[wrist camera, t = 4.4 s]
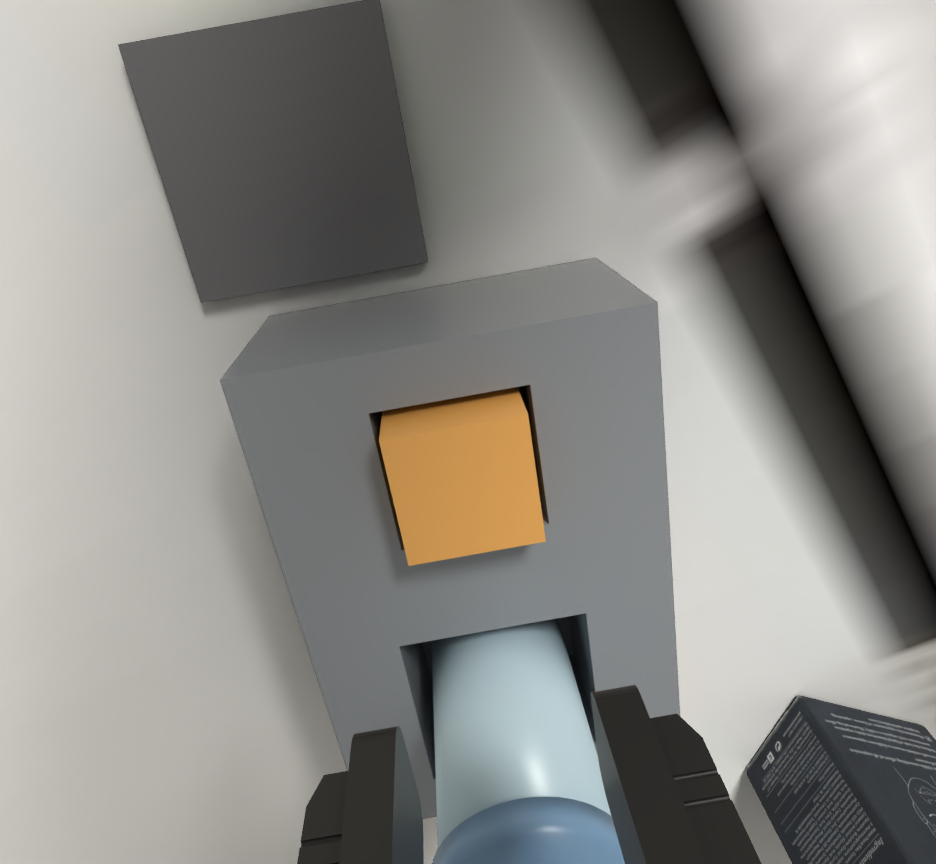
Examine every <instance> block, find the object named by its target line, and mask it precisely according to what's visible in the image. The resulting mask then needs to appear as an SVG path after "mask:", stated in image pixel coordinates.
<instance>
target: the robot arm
mask: <svg viewBox="0 0 936 864" xmlns="http://www.w3.org/2000/svg"><path fill="white" fill-rule="evenodd" d="M591 704H592V712H593V720H594V728H595V736H596V745H597V753H598V760H599V766H600V772H601V777H602V782H603V786H604V790H605V794H606V798H607V802H608V806H609V809H610V813H611V816H612V820H613V823H614V827H615V830H616V834H617V837H618V841H619V844H620V848H621V851H622V855H623V858H624V862H625V864H761V862H760V860H759V858H758V856H757V853H756V851H755V849H754V847H753V845H752V843H751V841H750V838H749V836H748V834H747V832H746V830H745V828H744V826H743V823H742V821H741V819H740V817H739V815H738V813H737V811H736V809H735V806H734V804H733V802H732V801H731V800H730V798H729V794H728V791H727V789H726V787H725V785H724V783H723V781H722V779H721V777H720V774H719V775H718V772H717V768H716V766H715V764H714V762H713V759H712V757H711V755H710V753H709V751H708V749H707V747H706V744H705V742H704V740H703V738H702V737H701V736H700V735H699V734H698V733H697V732H696V731H695V730H694V729H693V728H692V727H691V726H690V725H688V724H687V723H686V722H685V721H684V720H683V719H682V718H681V717H680V716H679V715H678V714H671V715H665V716H660V717H654V718H650V717H649V714H648V712H647V709H646V707H645V704H644V702H643V699H642V697H641V694H640V692H639V690H638V688H637V686H636V685H631V686H625V687H620V688H614V689H608V690H603V691H597V692H591ZM297 864H423V822H422V812H421V804H420V798H419V793H418V789H417V785H416V781H415V778H414V774H413V770H412V767H411V763H410V759H409V756H408V752H407V748H406V745H405V741H404V737H403V734H402V731H401V728H400V727H399V726H396V727H390V728H385V729H379V730H373V731H368V732H362V733H356V734H354V735H353V738H352V742H351V751H350V761H349V770H348V771H345V772H340V773H334V774H328V775H324V776H323V778H322V780H321V782H320V783H319V785H318V787H317V789H316V791H315V792H314V794H313V796H312V798H311V800H310V801H309V803H308V805H307V807H306V812H305V819H304V825H303V831H302V837H301V848H300V850H299V856H298V862H297Z"/></svg>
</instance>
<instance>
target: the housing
mask: <svg viewBox="0 0 936 864" xmlns="http://www.w3.org/2000/svg"><path fill="white" fill-rule="evenodd" d="M220 382H221V385H222V388H223V391H224V394H225V397H226V400H227V403H228V406H229V409H230V413H231V416H232V419H233V422H234V425H235V428H236V431H237V434H238V437H239V440H240V443H241V446H242V449H243V452H244V455H245V458H246V462H247V465H248V468H249V471H250V474H251V477H252V480H253V483H254V486H255V489H256V492H257V495H258V498H259V501H260V504H261V507H262V511H263V514H264V517H265V520H266V523H267V526H268V529H269V532H270V535H271V538H272V541H273V544H274V547H275V550H276V553H277V556H278V560H279V563H280V566H281V569H282V572H283V575H284V578H285V581H286V584H287V587H288V590H289V593H290V596H291V599H292V602H293V605H294V609H295V612H296V615H297V618H298V621H299V624H300V627H301V630H302V633H303V636H304V639H305V642H306V645H307V648H308V651H309V654H310V658H311V661H312V664H313V667H314V670H315V673H316V676H317V679H318V682H319V685H320V688H321V691H322V694H323V697H324V700H325V703H326V706H327V710H328V713H329V716H330V719H331V722H332V725H333V728H334V731H335V734H336V737H337V740H338V743H339V746H340V749H341V752H342V755H343V759H344V762H345V765H346V768H347V771H348V770H349V761H350V751H351V742H352V738H353V735H354V734H356V733H362V732H368V731H373V730H379V729H385V728H390V727H396V726H399V727H400V728H401V731H402V734H403V737H404V741H405V745H406V748H407V752H408V756H409V759H410V763H411V767H412V770H413V774H414V778H415V781H416V785H417V789H418V793H419V798H420V804H421V812H422V819H425V818H431V817H436V816H437V805H436V773H435V741H434V709H433V677H432V645H431V641H433V640H438V639H444V638H450V637H455V636H461V635H467V634H472V633H478V632H483V631H489V630H495V629H500V628H506V627H512V626H517V625H523V624H529V623H534V622H540V621H545V620H551V619H557V618H558V621H559V624H560V628H561V631H562V635H563V638H564V642H565V645H566V649H567V652H568V655H569V659H570V662H571V666H572V669H573V673H574V676H575V680H576V683H577V687H578V690H579V693H580V697H581V700H582V704H583V707H584V711H585V714H586V718H587V721H588V725H589V728H590V732H591V735H592V738H593V742H594V745H595V749H596V752H597V745H596V736H595V728H594V720H593V712H592V704H591V692H597V691H603V690H608V689H614V688H620V687H625V686H631V685H636V686H637V688H638V690H639V692H640V694H641V697H642V699H643V702H644V704H645V707H646V709H647V712H648V714H649V717H650V718H654V717H660V716H665V715H671V714H678V715H679V716H680V706H679V687H678V669H677V651H676V633H675V614H674V596H673V578H672V560H671V542H670V523H669V505H668V487H667V469H666V450H665V432H664V414H663V396H662V377H661V359H660V341H659V323H658V305H657V301H655V300H654V299H652V298H651V297H650V296H648V295H647V294H646V293H644V292H643V291H641V290H640V289H639V288H637V287H636V286H635V285H633V284H632V283H630V282H629V281H628V280H626V279H625V278H624V277H622V276H621V275H619V274H618V273H617V272H615V271H614V270H613V269H611V268H610V267H608V266H607V265H606V264H604V263H603V262H602V261H600V260H599V259H597V258H592V259H586V260H581V261H575V262H570V263H564V264H558V265H553V266H547V267H542V268H536V269H530V270H525V271H519V272H514V273H508V274H502V275H497V276H491V277H486V278H480V279H475V280H469V281H463V282H458V283H452V284H447V285H441V286H435V287H430V288H424V289H419V290H413V291H408V292H402V293H396V294H391V295H385V296H380V297H374V298H368V299H363V300H357V301H352V302H346V303H341V304H335V305H329V306H324V307H318V308H313V309H307V310H301V311H296V312H290V313H285V314H279V315H273V316H269V317H268V318H267V320H266V321H265V322H264V324H263V325H262V326H261V328H260V329H259V330H258V331H257V333H256V334H255V335H254V337H253V338H252V339H251V341H250V342H249V343H248V344H247V346H246V347H245V348H244V350H243V351H242V352H241V354H240V355H239V356H238V357H237V359H236V360H235V361H234V363H233V364H232V365H231V367H230V368H229V369H228V370H227V372H226V373H225V374H224V376H223V377H222V378H221V380H220ZM514 387H518V390H519V392H520V395H521V397H522V400H523V402H524V405H525V408H526V410H527V413H528V417H529V424H530V431H531V438H532V445H533V452H534V459H535V467H536V474H537V481H538V488H539V495H540V502H541V510H542V517H543V524H544V531H545V538H546V542H541V543H535V544H530V545H524V546H518V547H513V548H507V549H501V550H496V551H490V552H485V553H479V554H473V555H468V556H462V557H457V558H451V559H445V560H440V561H434V562H428V563H423V564H417V565H412V566H409V565H408V561H407V557H406V553H405V549H404V544H403V540H402V536H401V532H400V528H399V523H398V519H397V515H396V511H395V507H394V502H393V498H392V494H391V490H390V485H389V481H388V477H387V473H386V469H385V464H384V460H383V456H382V452H381V448H380V443H379V436H380V428H381V419H382V411H385V410H391V409H397V408H402V407H408V406H413V405H419V404H425V403H430V402H436V401H441V400H447V399H453V398H458V397H464V396H469V395H475V394H481V393H486V392H492V391H497V390H503V389H509V388H514ZM597 756H598V753H597Z"/></svg>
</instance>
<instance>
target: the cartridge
mask: <svg viewBox="0 0 936 864" xmlns="http://www.w3.org/2000/svg"><path fill="white" fill-rule="evenodd" d="M431 645H432V677H433V709H434V741H435V773H436V805H437V837H438V850H437V852H436V854H435V857H434V859H433V863H432V864H625V862H624V858H623V855H622V851H621V848H620V844H619V841H618V837H617V834H616V830H615V827H614V823H613V820H612V816H611V813H610V809H609V806H608V802H607V798H606V794H605V790H604V786H603V782H602V777H601V772H600V766H599V760H598V756H597V752H596V749H595V745H594V742H593V738H592V735H591V732H590V728H589V725H588V721H587V718H586V714H585V711H584V707H583V704H582V700H581V697H580V693H579V690H578V687H577V683H576V680H575V676H574V673H573V669H572V666H571V662H570V659H569V655H568V652H567V649H566V645H565V642H564V638H563V635H562V631H561V628H560V624H559V621H558V618H557V619H551V620H545V621H540V622H534V623H529V624H523V625H517V626H512V627H506V628H500V629H495V630H489V631H483V632H478V633H472V634H467V635H461V636H455V637H450V638H444V639H438V640H433V641H431Z"/></svg>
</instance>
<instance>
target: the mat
mask: <svg viewBox="0 0 936 864" xmlns="http://www.w3.org/2000/svg"><path fill="white" fill-rule="evenodd" d="M118 46H119V49H120V52H121V55H122V58H123V61H124V65H125V68H126V71H127V74H128V77H129V80H130V83H131V86H132V89H133V92H134V96H135V99H136V102H137V105H138V108H139V111H140V114H141V117H142V120H143V123H144V127H145V130H146V133H147V136H148V139H149V142H150V145H151V148H152V151H153V154H154V158H155V161H156V164H157V167H158V170H159V173H160V176H161V179H162V182H163V185H164V189H165V192H166V195H167V198H168V201H169V204H170V207H171V210H172V213H173V216H174V220H175V223H176V226H177V229H178V232H179V235H180V238H181V241H182V244H183V247H184V251H185V254H186V257H187V260H188V263H189V266H190V269H191V272H192V275H193V278H194V282H195V285H196V288H197V291H198V294H199V297H200V300H201V303H203V302H209V301H215V300H220V299H226V298H231V297H237V296H242V295H248V294H254V293H259V292H265V291H270V290H276V289H282V288H287V287H293V286H298V285H304V284H309V283H315V282H321V281H326V280H332V279H337V278H343V277H349V276H354V275H360V274H365V273H371V272H376V271H382V270H388V269H393V268H399V267H404V266H410V265H416V264H421V263H427V262H428V259H427V254H426V248H425V243H424V238H423V232H422V227H421V221H420V216H419V211H418V205H417V200H416V194H415V189H414V184H413V178H412V173H411V167H410V162H409V156H408V151H407V146H406V140H405V135H404V129H403V124H402V119H401V113H400V108H399V102H398V97H397V92H396V86H395V81H394V75H393V70H392V65H391V59H390V54H389V48H388V43H387V38H386V32H385V27H384V21H383V16H382V11H381V5H380V0H363V1H358V2H352V3H347V4H341V5H335V6H330V7H324V8H319V9H313V10H308V11H302V12H297V13H291V14H286V15H280V16H274V17H269V18H263V19H258V20H252V21H247V22H241V23H236V24H230V25H224V26H219V27H213V28H208V29H202V30H197V31H191V32H186V33H180V34H175V35H169V36H163V37H158V38H152V39H147V40H141V41H136V42H130V43H125V44H119V45H118Z"/></svg>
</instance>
